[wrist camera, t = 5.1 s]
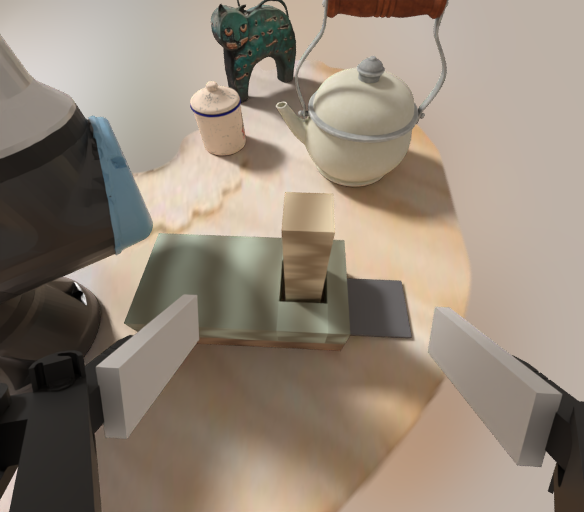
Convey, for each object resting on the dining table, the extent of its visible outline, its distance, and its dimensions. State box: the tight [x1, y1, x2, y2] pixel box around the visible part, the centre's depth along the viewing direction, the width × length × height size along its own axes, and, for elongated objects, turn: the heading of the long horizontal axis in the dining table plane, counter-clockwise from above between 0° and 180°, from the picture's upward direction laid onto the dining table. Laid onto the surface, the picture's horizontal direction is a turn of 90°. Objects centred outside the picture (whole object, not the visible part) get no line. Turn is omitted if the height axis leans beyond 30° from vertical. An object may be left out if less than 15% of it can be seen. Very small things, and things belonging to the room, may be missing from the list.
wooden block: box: [282, 192, 335, 303], centre depth 28 cm, size 4×4×16 cm
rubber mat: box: [347, 279, 412, 338], centre depth 37 cm, size 8×8×1 cm
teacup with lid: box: [190, 81, 246, 155], centre depth 52 cm, size 12×9×12 cm
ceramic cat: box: [211, 0, 296, 103], centre depth 60 cm, size 20×6×20 cm, turn 130°
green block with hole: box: [124, 233, 350, 351], centre depth 35 cm, size 24×12×7 cm, turn 87°
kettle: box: [276, 0, 448, 187], centre depth 43 cm, size 25×18×25 cm
